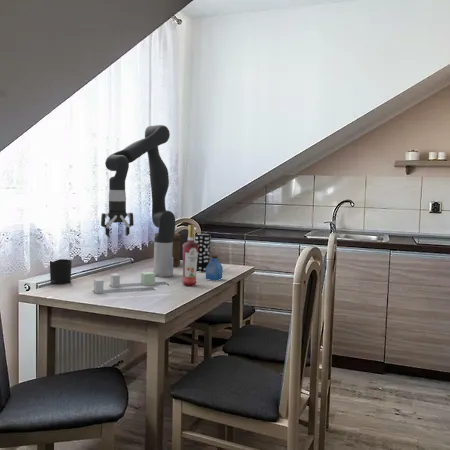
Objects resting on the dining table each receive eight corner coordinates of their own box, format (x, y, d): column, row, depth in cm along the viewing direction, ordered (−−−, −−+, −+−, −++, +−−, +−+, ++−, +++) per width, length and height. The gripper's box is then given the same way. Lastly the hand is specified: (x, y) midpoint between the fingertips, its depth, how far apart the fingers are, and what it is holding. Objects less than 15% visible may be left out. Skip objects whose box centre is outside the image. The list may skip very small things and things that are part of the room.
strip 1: (152, 288, 213) (152, 275, 213) (156, 291, 208) (156, 278, 208) (92, 292, 202) (92, 278, 202) (94, 295, 197) (95, 281, 196)
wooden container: (152, 263, 282) (153, 225, 280) (177, 263, 286) (178, 226, 284) (156, 267, 268) (157, 228, 266) (182, 267, 272) (183, 228, 270)
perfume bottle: (222, 279, 243) (223, 255, 242) (216, 281, 237) (217, 256, 236) (211, 277, 245) (211, 254, 244) (205, 279, 240) (206, 255, 239)
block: (151, 282, 223) (151, 271, 223) (154, 284, 218) (155, 273, 218) (141, 283, 221) (141, 272, 220) (144, 285, 216) (144, 274, 216)
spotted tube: (207, 272, 258) (208, 235, 257) (192, 271, 260) (193, 234, 258) (211, 270, 267) (212, 234, 265) (196, 269, 268) (197, 233, 267)
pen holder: (49, 281, 222) (49, 259, 221) (70, 280, 226) (70, 259, 225) (50, 285, 214) (50, 262, 213) (72, 284, 217) (72, 262, 216)
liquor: (185, 287, 220) (186, 226, 218) (178, 283, 227) (180, 224, 224) (199, 286, 224) (201, 226, 221) (193, 283, 230) (195, 224, 228)
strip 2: (164, 283, 226) (165, 271, 226) (168, 285, 221) (169, 273, 220) (108, 286, 215) (109, 273, 215) (111, 289, 210) (112, 276, 209)
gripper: (130, 199, 223) (130, 234, 224) (99, 199, 216) (99, 235, 218) (135, 200, 216) (135, 236, 218) (103, 200, 210) (103, 237, 211)
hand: (117, 235), depth 218 cm, fingers open, 8 cm apart
